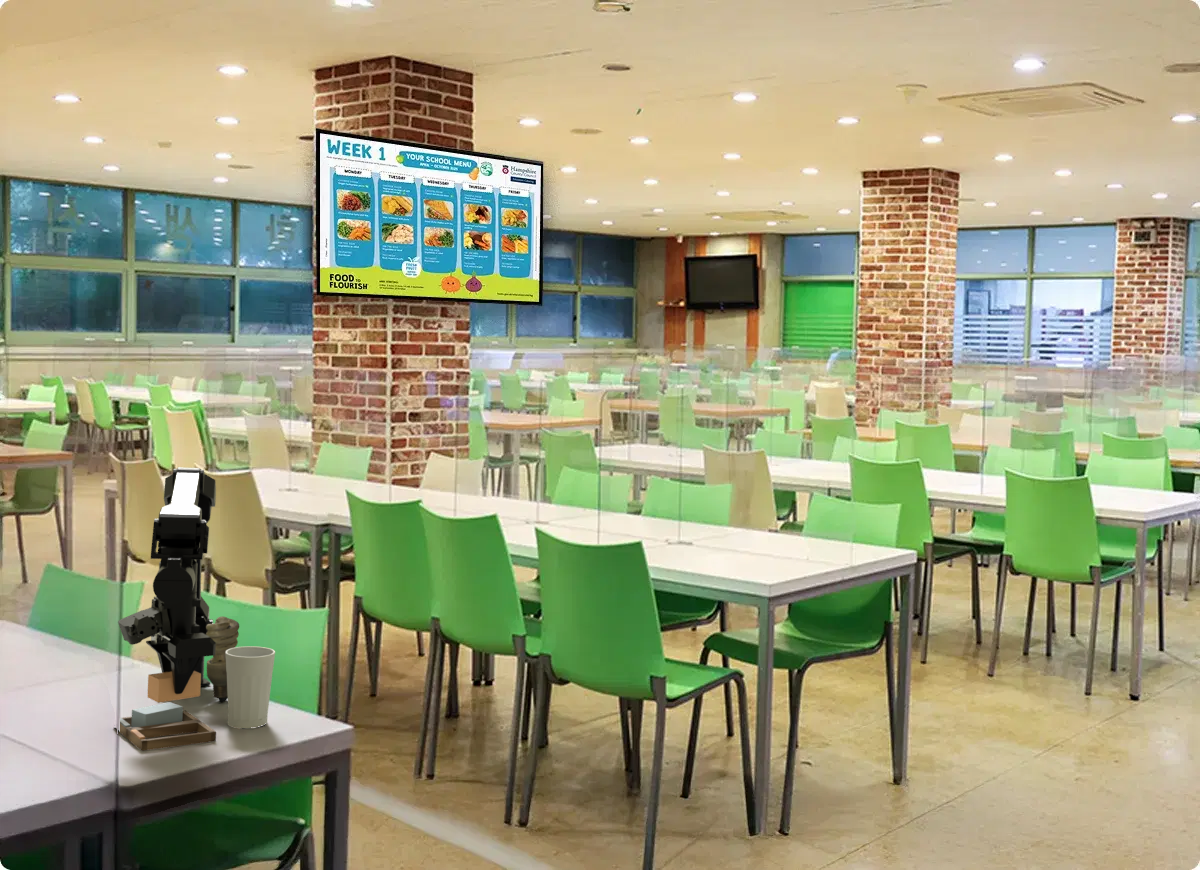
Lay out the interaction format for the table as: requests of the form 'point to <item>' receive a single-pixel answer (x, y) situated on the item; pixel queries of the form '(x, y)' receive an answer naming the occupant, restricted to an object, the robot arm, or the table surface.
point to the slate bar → (157, 714)
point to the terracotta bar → (171, 687)
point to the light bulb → (221, 653)
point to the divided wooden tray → (167, 733)
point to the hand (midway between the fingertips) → (173, 690)
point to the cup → (248, 685)
